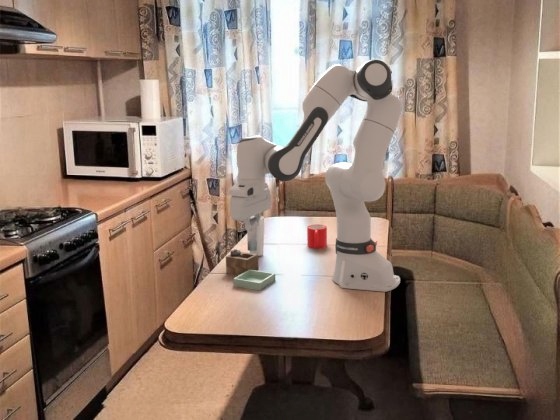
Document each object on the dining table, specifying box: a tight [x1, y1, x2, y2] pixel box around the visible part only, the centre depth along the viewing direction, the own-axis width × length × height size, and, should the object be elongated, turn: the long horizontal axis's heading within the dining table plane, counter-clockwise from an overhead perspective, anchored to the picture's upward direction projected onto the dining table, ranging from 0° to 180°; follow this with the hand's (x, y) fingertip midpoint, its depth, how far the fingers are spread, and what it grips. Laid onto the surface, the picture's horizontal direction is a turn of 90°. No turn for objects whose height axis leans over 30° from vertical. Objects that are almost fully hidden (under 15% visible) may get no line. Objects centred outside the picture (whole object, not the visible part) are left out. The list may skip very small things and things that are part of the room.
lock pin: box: [246, 217, 257, 252], centre depth 190 cm, size 3×3×11 cm
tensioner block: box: [225, 248, 259, 276], centre depth 205 cm, size 9×7×8 cm
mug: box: [306, 224, 328, 249], centre depth 232 cm, size 8×12×8 cm, turn 177°
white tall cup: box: [249, 215, 265, 257], centre depth 223 cm, size 7×7×15 cm
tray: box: [232, 269, 276, 291], centre depth 194 cm, size 10×10×2 cm
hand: (252, 228), depth 189 cm, fingers closed on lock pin, 3 cm apart
